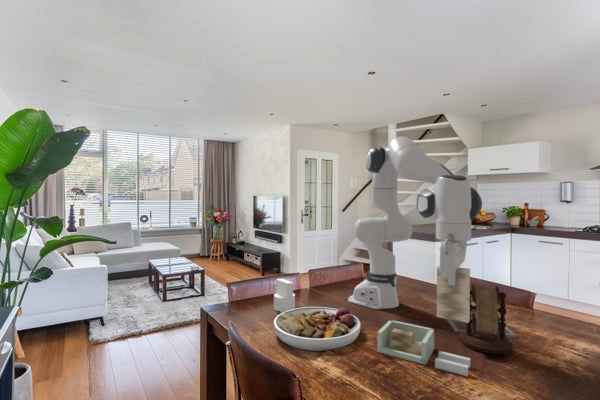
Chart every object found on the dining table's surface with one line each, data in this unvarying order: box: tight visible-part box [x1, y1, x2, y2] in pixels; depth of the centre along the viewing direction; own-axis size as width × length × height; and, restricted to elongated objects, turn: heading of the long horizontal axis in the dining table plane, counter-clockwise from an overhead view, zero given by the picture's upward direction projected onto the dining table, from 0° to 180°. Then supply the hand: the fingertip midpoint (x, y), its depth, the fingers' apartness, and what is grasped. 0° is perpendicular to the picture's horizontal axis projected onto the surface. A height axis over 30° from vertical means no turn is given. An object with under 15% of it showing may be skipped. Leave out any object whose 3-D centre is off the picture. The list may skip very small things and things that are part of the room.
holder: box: [434, 350, 471, 377], centre depth 90 cm, size 8×6×3 cm
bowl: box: [273, 306, 361, 352], centre depth 114 cm, size 30×30×8 cm
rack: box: [376, 319, 435, 366], centre depth 100 cm, size 14×12×7 cm
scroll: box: [459, 283, 514, 358], centre depth 104 cm, size 15×15×20 cm
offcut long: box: [390, 338, 421, 356], centre depth 99 cm, size 9×3×3 cm, turn 57°
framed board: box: [446, 309, 517, 340], centre depth 127 cm, size 19×2×30 cm
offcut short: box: [391, 328, 414, 344], centre depth 100 cm, size 6×3×2 cm, turn 57°
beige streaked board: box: [436, 264, 471, 323], centre depth 90 cm, size 8×2×14 cm, turn 57°
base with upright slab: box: [273, 278, 296, 313], centre depth 140 cm, size 9×9×12 cm
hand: (453, 283), depth 90 cm, fingers closed on beige streaked board, 2 cm apart
